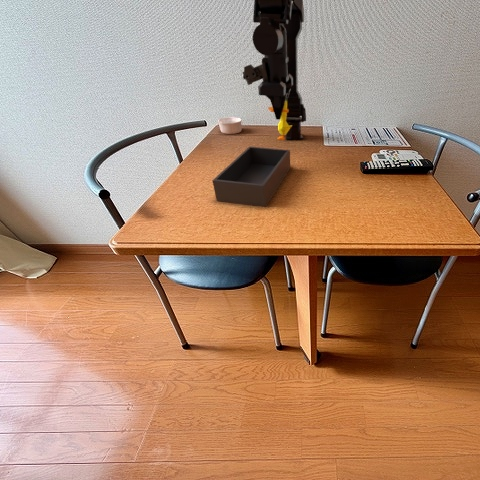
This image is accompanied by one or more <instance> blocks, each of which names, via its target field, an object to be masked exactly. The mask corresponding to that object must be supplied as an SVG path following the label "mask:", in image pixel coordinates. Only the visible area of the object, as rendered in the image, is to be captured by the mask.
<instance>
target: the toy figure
mask: <svg viewBox="0 0 480 480" xmlns="http://www.w3.org/2000/svg"><path fill="white" fill-rule="evenodd" d="M286 98H287V97H286ZM268 110H269V111H270V112H271V113H274V110H273V107H272V106H269V107H268ZM288 111H289V110H288V109H287V99H286V101H285V104H284V108H283V111H282V115H281V119H280V120H279V121H278V124H277V130H278V133H279V134H280V136H278V137H277V141H285V140H286V138H285V136H284V135H286V134H287V132H288V131H289V129H290V128H291V127H292V125H288V123H287V122H286V116H287V113H288Z"/></svg>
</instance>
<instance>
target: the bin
mask: <svg viewBox="0 0 480 480" xmlns="http://www.w3.org/2000/svg"><path fill="white" fill-rule="evenodd" d="M290 170H291V150H290V149H280V148H270V147H261V146H260V147H258V146H248V147H247V148H245V150H244V151H243V152H241V153H240V154H239V155H238V156H237V157H236V158H235V159H234V160H233V161H232V162H231V163H230V164H228V165H227V166H226V167H225V168H224V169H223V170H221V172H220V173H219V174H218V175H216V176H215V177H214V178H213V179H212V185H213V190H214V195H215V200H216V202H220V203H221V202H222V203H229V204H238V205H239V204H240V205H246V206H247V205H248V206H256V207H265V208H266V207H267V205H268V204H269V202H270V201H271V199H272V198H273V197H274V195H275V193H276V191H277V190H278V189H279V187H280V185H281V184H282V183H283V180H284V179H285V177H286V176H287V174H288V173H289V171H290Z"/></svg>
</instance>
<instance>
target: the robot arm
mask: <svg viewBox="0 0 480 480" xmlns="http://www.w3.org/2000/svg"><path fill="white" fill-rule="evenodd" d="M253 3H254V4H253V14H252V15H253V16H252V21H253V23H254V24H256V23H257V24H258V25H257V26H256V27H255V28H254V29H253V33H252V37H251V38H252V44H253V46H254V48H255V50H256V51H257V52H258V53H259V54H261V55H262V56H263V57H262V58H261V64H258V65H257V66H253V64H252V63H251V64H248V65H246V66H243V71H242V74H243V76H242V78H243V80H245V81H246V84H247V86H250V85H253V83H255V82H258V81H260V80H262V81H261V82H260V83H259V85H258V86H257V89H258V90H257V91H258V96H264V97H266V98H267V99H268V100H269V102H270V104H271V107H273V110H274V112H273V113H274V117H275V119H276V120H279V121H281V115H282V111H283V108H284V104H285V101H286V99H287V109H288V110H289V111H288V113H287V116H286V122H287V123H288V125H292V127H291V128H290V129H289V131H288V132H287V134H286V135H284V137H285V140H286V141H291V140H292V141H293V140H294V141H295V140H303V139H304V136H303V134H302V123H304V122H306V121H307V111H306V108H305V104H304V103H303V97H302V94H301V93H300V92H299V86H298V83H299V82H298V81H299V79H298V76H299V75H298V74H299V73H298V72H299V71H298V68H299V67H298V38H299V37H300V34H301V32H302V30H303V23H305V7H304V0H254V1H253ZM286 97H287V98H286Z"/></svg>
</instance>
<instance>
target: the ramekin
mask: <svg viewBox="0 0 480 480" xmlns="http://www.w3.org/2000/svg"><path fill="white" fill-rule="evenodd" d="M242 121H243V120H242V118H240V117H236V116H226V117H221V118H218V119H217V123H218V125H219V129H220V132H221V133H222V134H225V135H235V134H239V133H241V132H242V129H243V128H242Z"/></svg>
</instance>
